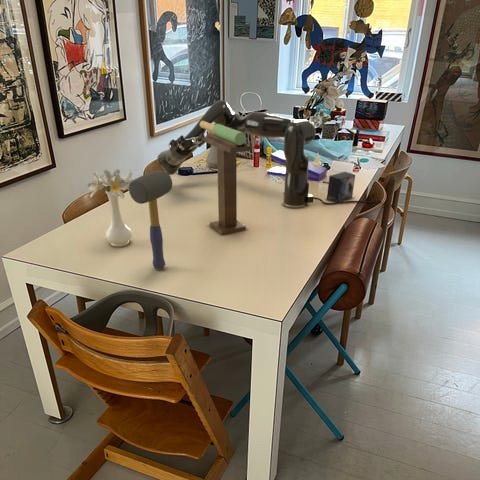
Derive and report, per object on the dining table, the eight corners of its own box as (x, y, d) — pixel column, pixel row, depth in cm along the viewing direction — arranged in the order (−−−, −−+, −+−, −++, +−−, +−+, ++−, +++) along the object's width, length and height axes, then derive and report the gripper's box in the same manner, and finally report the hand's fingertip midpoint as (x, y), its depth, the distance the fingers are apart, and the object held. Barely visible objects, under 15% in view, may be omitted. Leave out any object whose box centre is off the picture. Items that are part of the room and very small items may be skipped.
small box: (337, 203, 204) (340, 178, 198) (325, 199, 208) (328, 175, 202) (353, 198, 209) (356, 174, 204) (341, 194, 213) (344, 171, 208)
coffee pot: (202, 167, 251) (201, 137, 242) (211, 162, 260) (210, 133, 251) (240, 171, 244) (240, 141, 236) (248, 166, 253) (248, 136, 245)
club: (197, 130, 176) (197, 118, 174) (207, 129, 177) (207, 117, 175) (234, 146, 155) (234, 133, 153) (245, 144, 157) (245, 131, 155)
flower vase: (148, 235, 175) (140, 165, 161) (123, 255, 160) (112, 180, 146) (116, 230, 178) (106, 162, 164) (89, 250, 163) (75, 177, 150)
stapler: (275, 168, 249) (276, 149, 244) (327, 175, 238) (329, 155, 233) (266, 174, 240) (267, 154, 235) (319, 181, 230) (321, 160, 224)
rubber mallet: (156, 279, 146) (145, 181, 129) (137, 273, 149) (124, 177, 133) (180, 263, 155) (173, 170, 138) (162, 258, 158) (153, 166, 142)
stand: (204, 222, 186) (200, 134, 168) (226, 217, 190) (225, 131, 172) (228, 239, 171) (227, 145, 153) (252, 234, 175) (254, 142, 158)
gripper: (161, 143, 196) (173, 128, 182) (193, 139, 202) (207, 125, 188) (166, 161, 197) (178, 148, 183) (197, 157, 203) (212, 144, 189)
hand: (193, 136), depth 185 cm, fingers open, 8 cm apart
